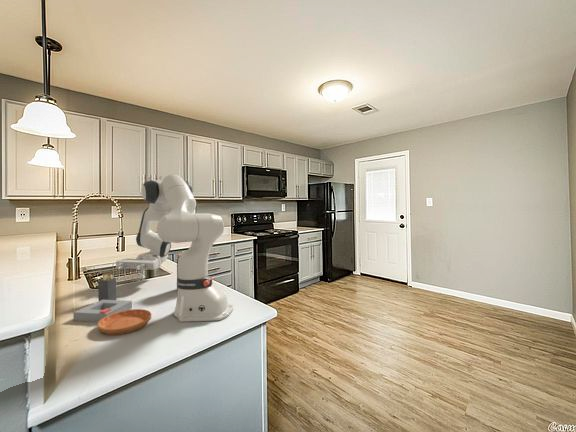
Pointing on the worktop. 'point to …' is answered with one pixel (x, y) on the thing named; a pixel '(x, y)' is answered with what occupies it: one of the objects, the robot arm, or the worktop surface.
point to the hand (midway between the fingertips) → (126, 267)
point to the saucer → (124, 321)
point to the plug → (107, 288)
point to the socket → (101, 310)
